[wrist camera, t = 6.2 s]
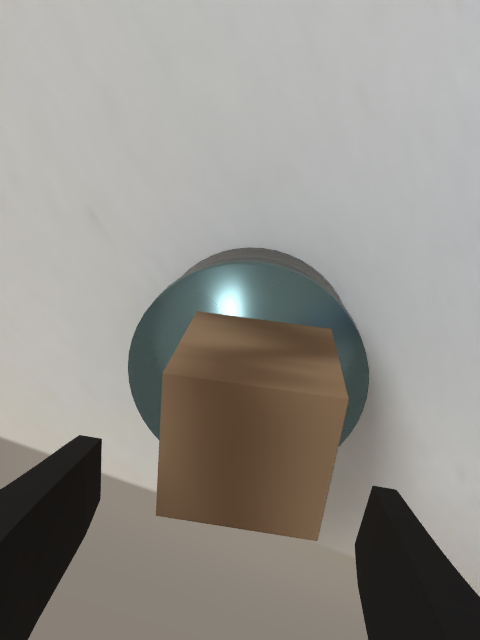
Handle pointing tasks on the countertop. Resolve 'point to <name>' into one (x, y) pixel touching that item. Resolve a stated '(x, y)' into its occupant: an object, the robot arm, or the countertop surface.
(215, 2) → the countertop surface
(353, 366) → the grey tin
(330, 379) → the walnut cube
